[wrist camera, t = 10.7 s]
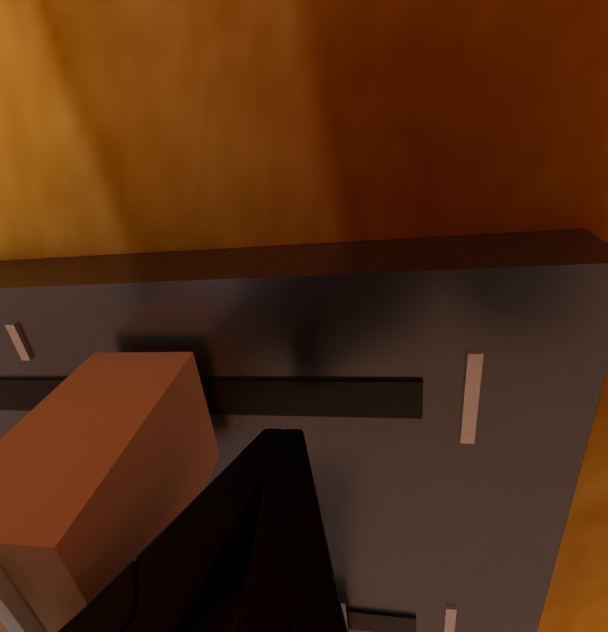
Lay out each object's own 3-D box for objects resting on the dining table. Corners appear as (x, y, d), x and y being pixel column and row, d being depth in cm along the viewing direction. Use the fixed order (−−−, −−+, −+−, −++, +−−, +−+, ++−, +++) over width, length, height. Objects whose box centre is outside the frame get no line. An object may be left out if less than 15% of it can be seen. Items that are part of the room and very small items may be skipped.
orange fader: (219, 453, 10) (119, 686, 6) (132, 450, 11) (-16, 666, 7) (192, 351, 9) (43, 563, 5) (93, 352, 10) (-118, 548, 5)
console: (509, 604, 15) (527, 674, 14) (-76, 549, 20) (-121, 595, 18) (585, 229, 9) (638, 263, 7) (-296, 277, 14) (-399, 305, 12)
